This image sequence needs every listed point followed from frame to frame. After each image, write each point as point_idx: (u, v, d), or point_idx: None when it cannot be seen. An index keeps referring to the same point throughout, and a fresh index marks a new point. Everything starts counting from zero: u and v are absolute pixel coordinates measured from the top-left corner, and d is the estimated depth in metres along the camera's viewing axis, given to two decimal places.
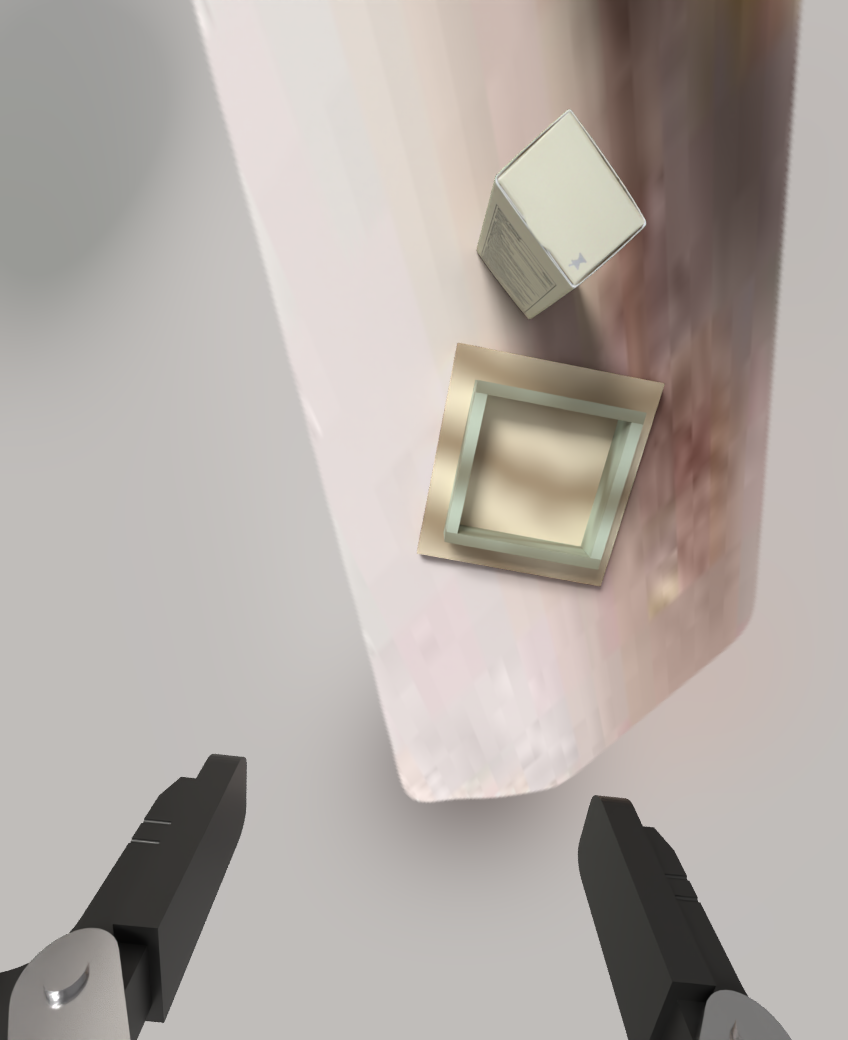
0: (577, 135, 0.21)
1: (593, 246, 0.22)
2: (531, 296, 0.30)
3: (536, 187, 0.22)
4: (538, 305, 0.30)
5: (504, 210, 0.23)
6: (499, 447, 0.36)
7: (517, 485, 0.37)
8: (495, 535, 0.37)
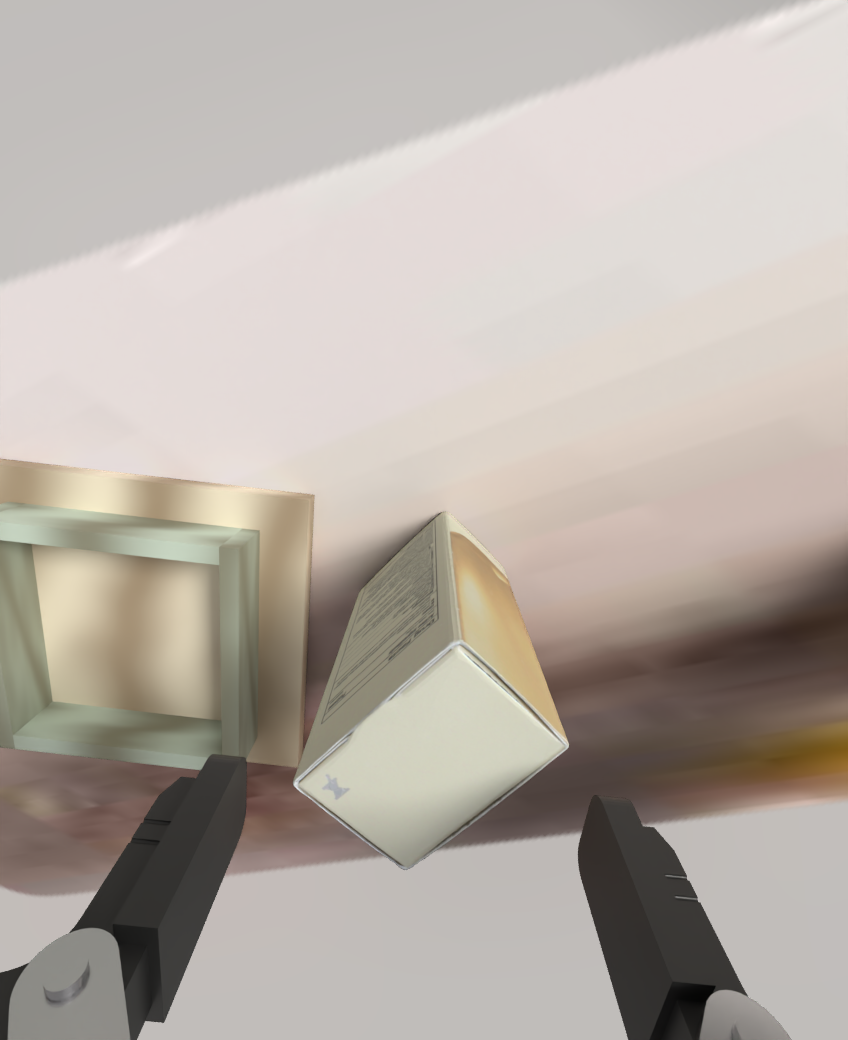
0: (529, 762, 0.12)
1: (362, 806, 0.13)
2: (358, 624, 0.19)
3: (446, 712, 0.12)
4: (347, 635, 0.20)
5: (423, 641, 0.13)
6: (167, 575, 0.23)
7: (117, 606, 0.24)
8: (17, 589, 0.23)
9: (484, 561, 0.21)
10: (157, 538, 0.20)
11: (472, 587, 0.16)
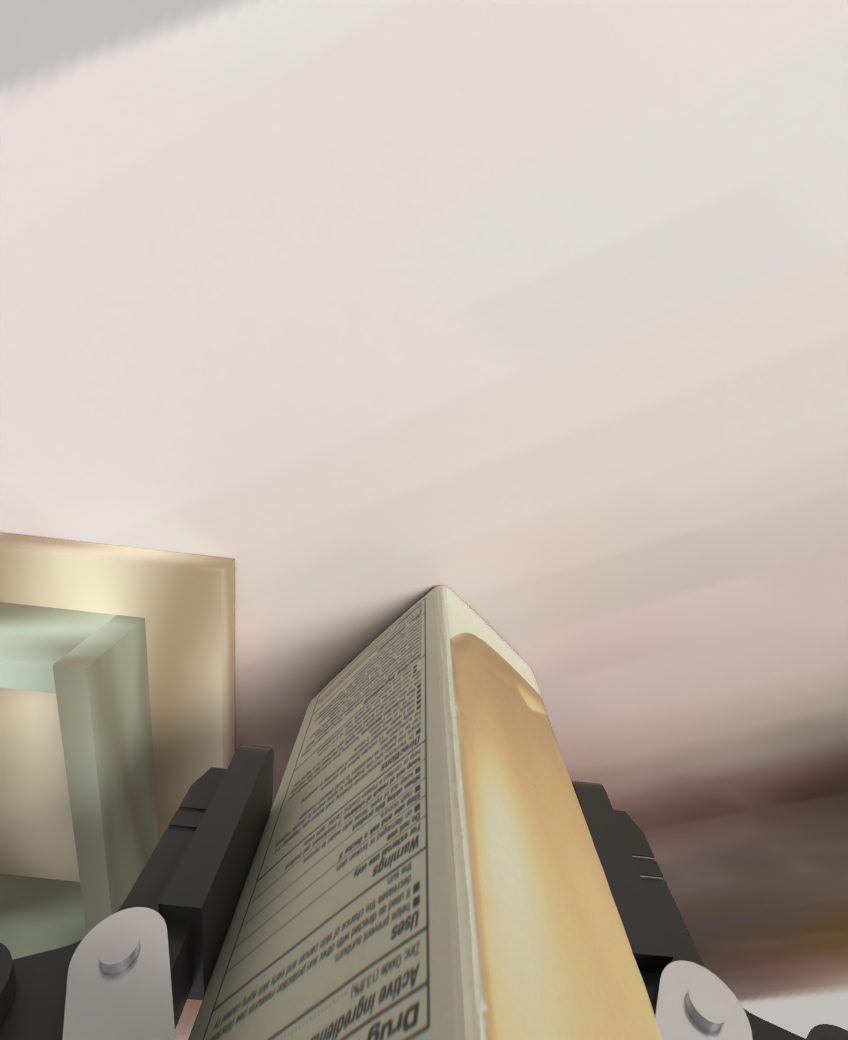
0: None
1: None
2: (289, 809, 0.11)
3: None
4: (271, 824, 0.11)
5: None
6: None
7: None
8: None
9: (506, 680, 0.13)
10: None
11: (501, 816, 0.08)
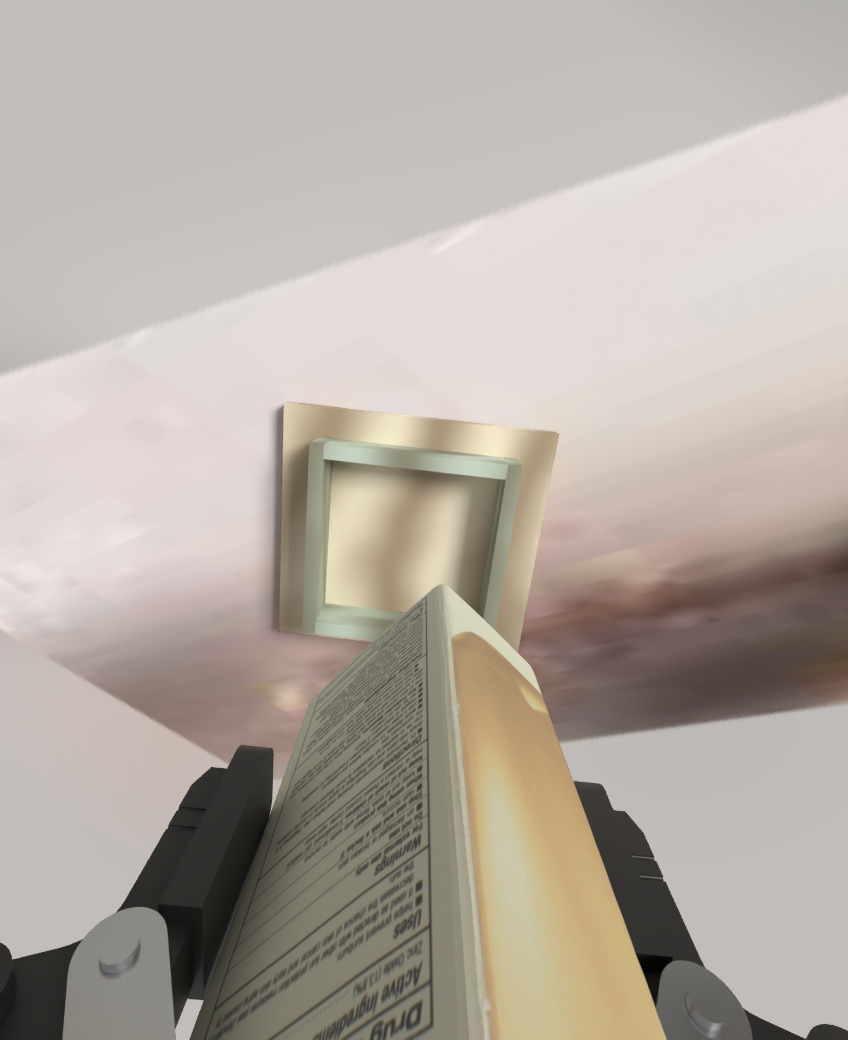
0: None
1: None
2: (290, 808, 0.11)
3: None
4: (272, 823, 0.11)
5: None
6: (436, 496, 0.30)
7: (391, 522, 0.30)
8: (326, 505, 0.29)
9: (508, 679, 0.13)
10: (458, 459, 0.27)
11: (503, 814, 0.08)
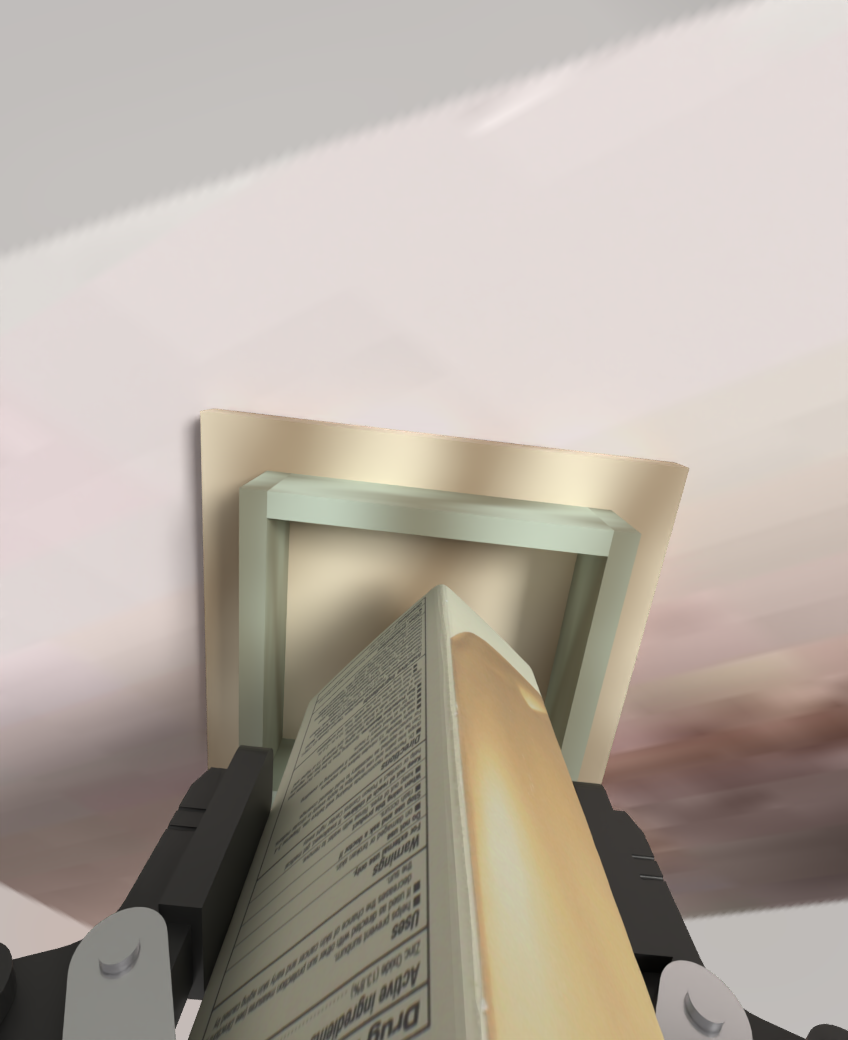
0: None
1: None
2: (289, 809, 0.11)
3: None
4: (271, 823, 0.11)
5: None
6: (470, 571, 0.17)
7: (392, 614, 0.18)
8: (278, 591, 0.16)
9: (507, 679, 0.13)
10: (520, 518, 0.14)
11: (501, 815, 0.07)
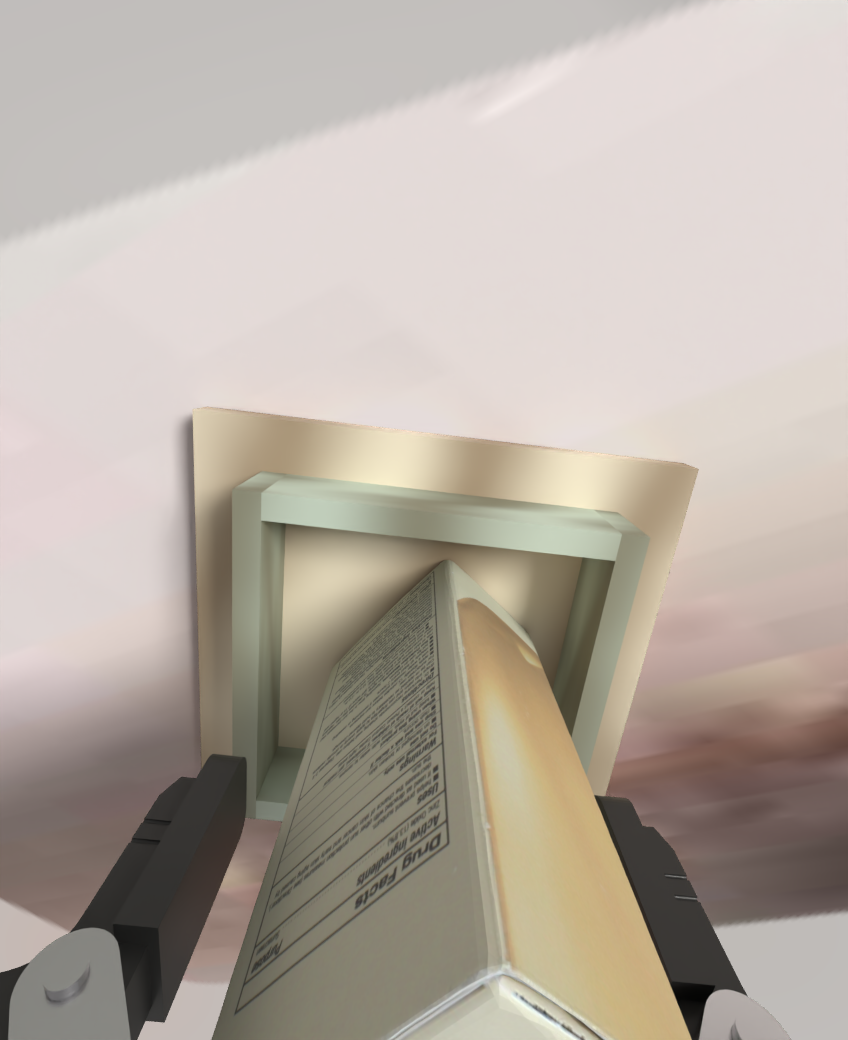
0: None
1: None
2: (322, 747, 0.13)
3: None
4: (307, 760, 0.13)
5: (420, 902, 0.06)
6: (471, 575, 0.17)
7: None
8: (273, 596, 0.16)
9: (506, 638, 0.14)
10: (525, 521, 0.14)
11: (501, 725, 0.09)
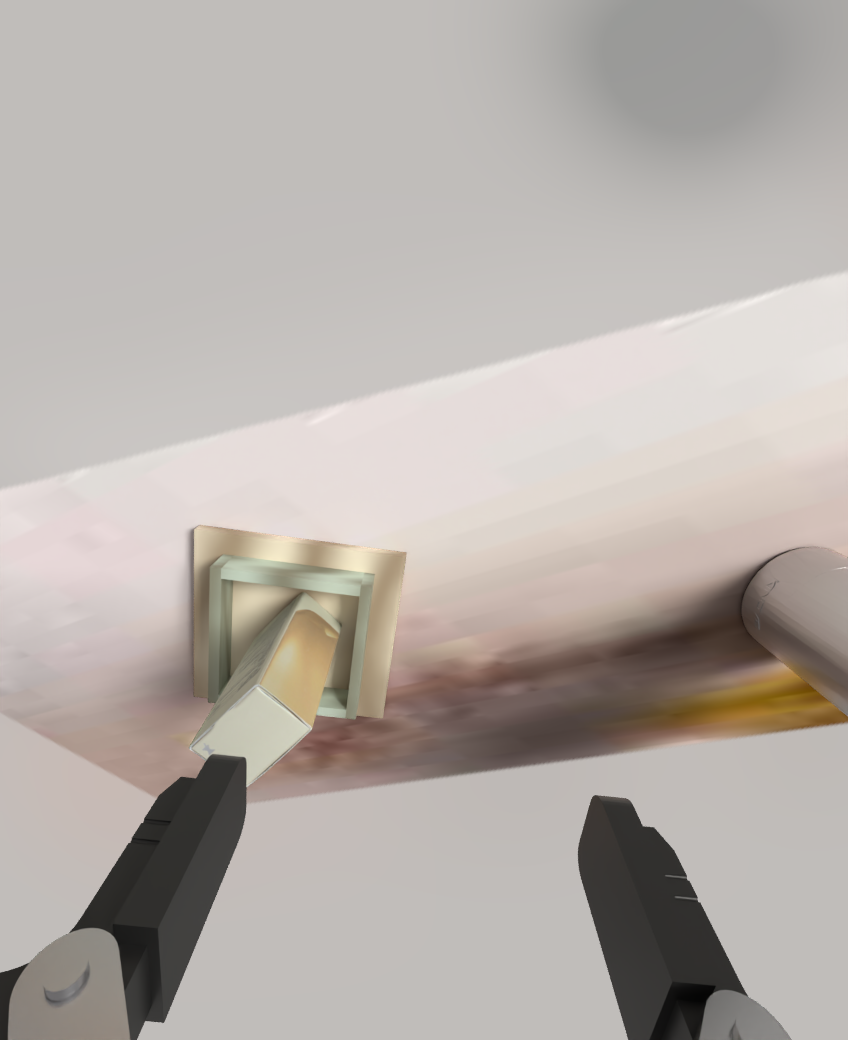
0: (295, 736, 0.28)
1: None
2: (241, 664, 0.34)
3: (254, 714, 0.27)
4: (236, 670, 0.35)
5: (249, 682, 0.28)
6: (314, 599, 0.38)
7: None
8: (227, 607, 0.37)
9: (319, 625, 0.36)
10: (324, 580, 0.36)
11: (289, 650, 0.31)
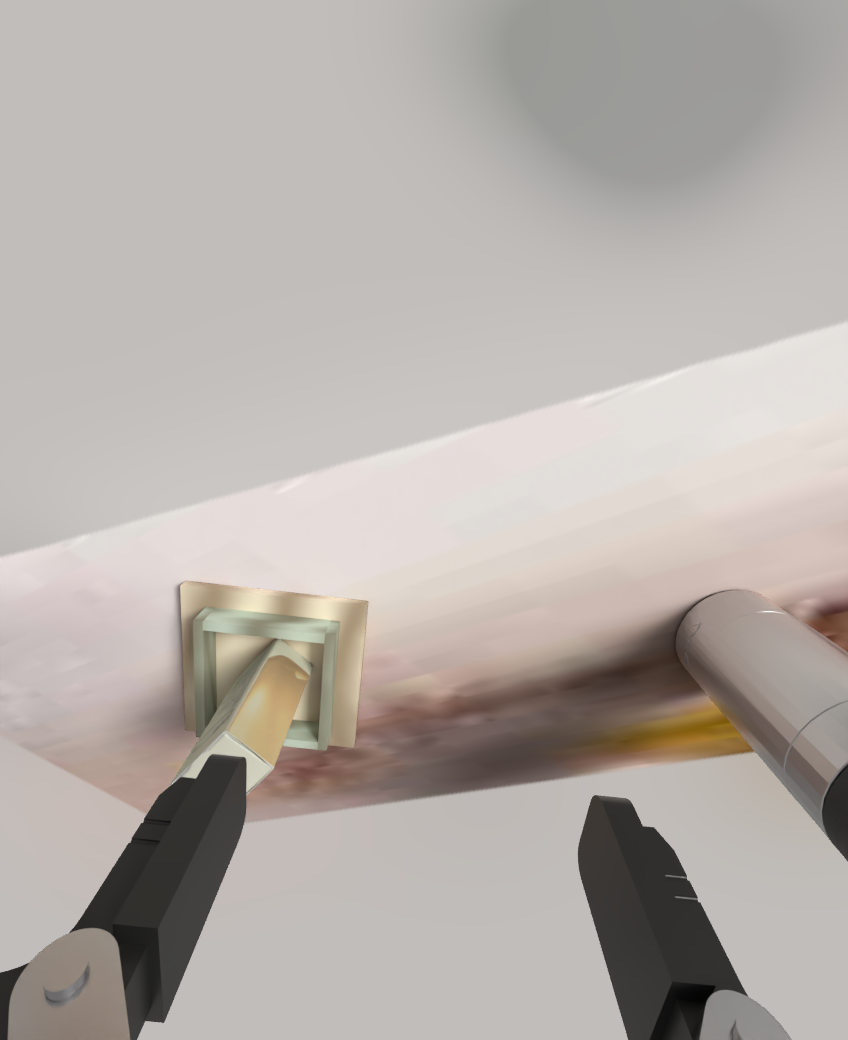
0: (259, 774, 0.33)
1: None
2: (221, 706, 0.39)
3: None
4: (217, 711, 0.40)
5: (221, 728, 0.33)
6: (288, 643, 0.43)
7: None
8: (210, 653, 0.42)
9: (290, 669, 0.41)
10: (293, 630, 0.40)
11: (258, 696, 0.36)
